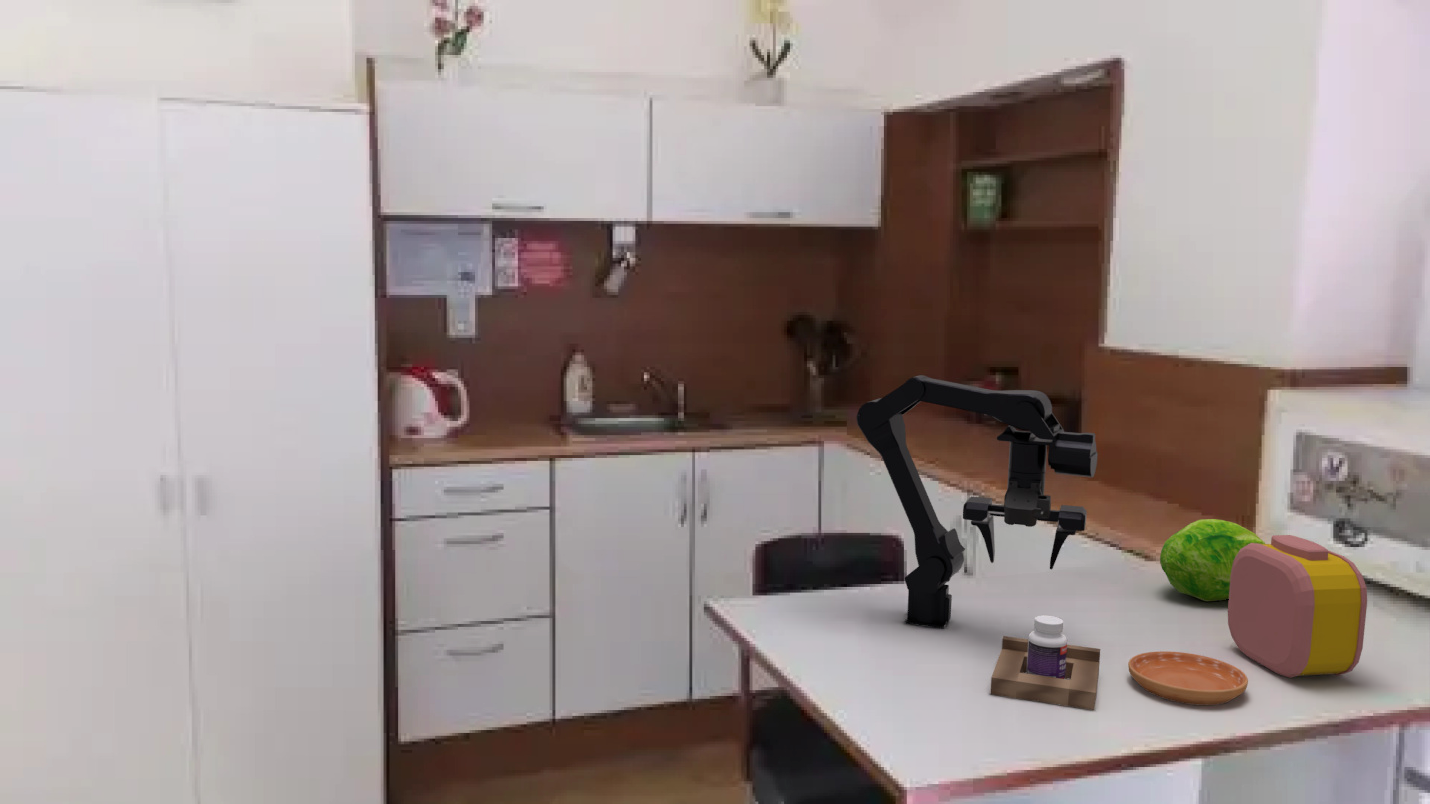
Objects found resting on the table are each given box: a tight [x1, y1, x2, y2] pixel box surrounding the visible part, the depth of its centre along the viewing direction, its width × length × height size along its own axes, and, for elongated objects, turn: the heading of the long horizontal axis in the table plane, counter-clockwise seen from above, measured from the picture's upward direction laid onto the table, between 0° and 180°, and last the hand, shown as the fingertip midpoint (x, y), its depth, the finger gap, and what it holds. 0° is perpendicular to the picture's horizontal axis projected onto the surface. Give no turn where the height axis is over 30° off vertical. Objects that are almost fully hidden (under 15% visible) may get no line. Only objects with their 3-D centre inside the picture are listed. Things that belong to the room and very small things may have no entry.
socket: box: [990, 635, 1101, 711], centre depth 163 cm, size 14×14×4 cm
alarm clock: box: [1227, 534, 1368, 679], centre depth 172 cm, size 18×11×19 cm, turn 9°
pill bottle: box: [1026, 615, 1068, 679], centre depth 163 cm, size 5×5×10 cm
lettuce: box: [1159, 518, 1266, 602], centre depth 206 cm, size 15×23×16 cm
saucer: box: [1127, 650, 1249, 706], centre depth 163 cm, size 16×16×3 cm
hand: (1021, 565), depth 181 cm, fingers open, 9 cm apart
